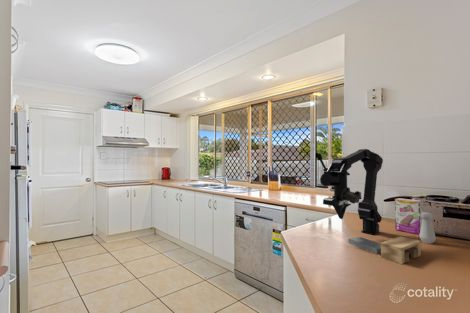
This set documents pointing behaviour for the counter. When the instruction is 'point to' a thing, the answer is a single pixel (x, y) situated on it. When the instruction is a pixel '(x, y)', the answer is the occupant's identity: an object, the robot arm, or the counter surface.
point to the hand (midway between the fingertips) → (341, 218)
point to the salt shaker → (427, 229)
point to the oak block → (400, 249)
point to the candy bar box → (408, 215)
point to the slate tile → (366, 244)
